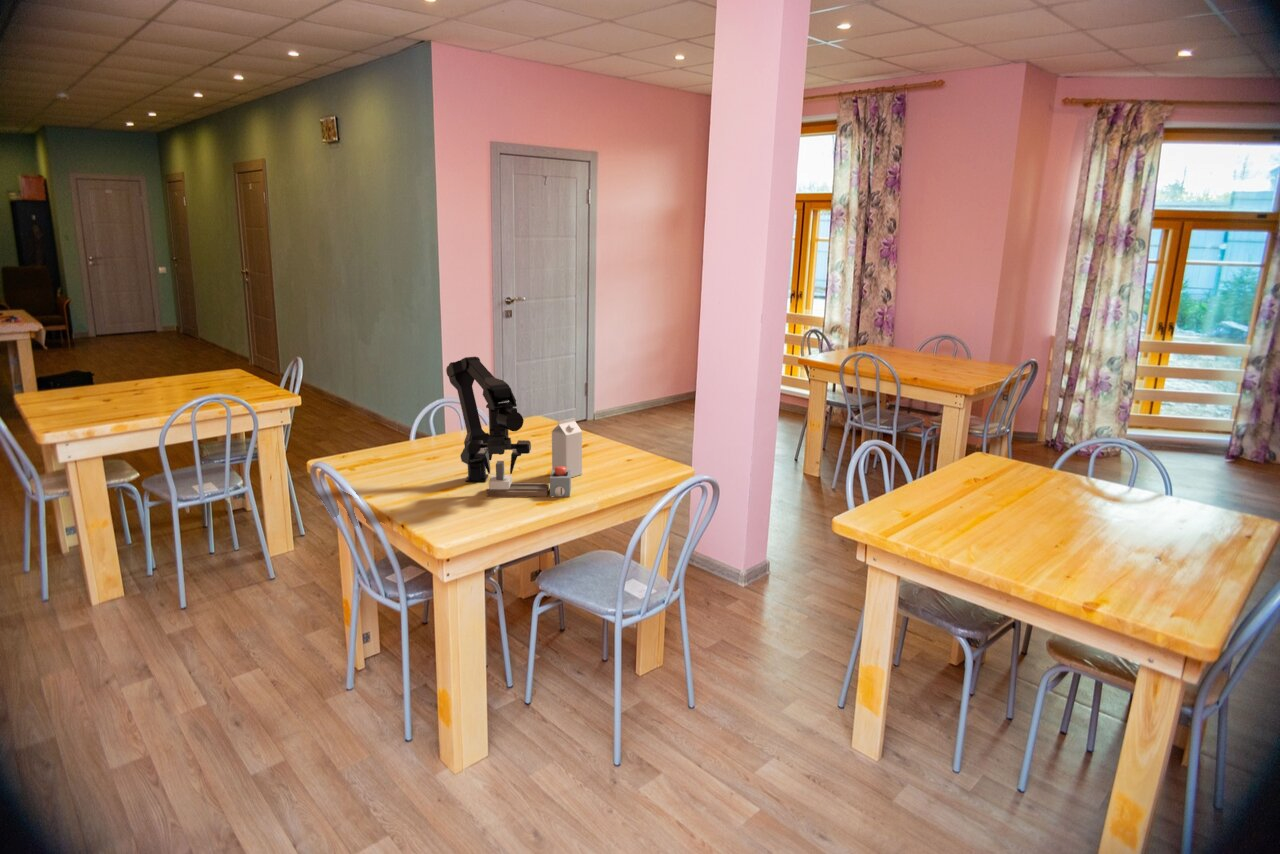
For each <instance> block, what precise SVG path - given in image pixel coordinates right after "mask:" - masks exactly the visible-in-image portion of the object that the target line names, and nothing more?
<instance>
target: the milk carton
mask: <svg viewBox="0 0 1280 854" xmlns="http://www.w3.org/2000/svg"><path fill="white" fill-rule="evenodd" d="M557 423H558V424H557V425H556V426H555V427H554V428H553V429H552V430H551V467H552V469H551V471H552V470H555V467H557V466H565V467H566V470H571V478H574V477H577V476H582V475H583V431H582V429H581V427H580V426H579V425H578V423H577V422H576V417H572V418H568V419H567V418H566V419H562V420H558V422H557Z"/></svg>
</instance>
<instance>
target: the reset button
mask: <svg viewBox="0 0 1280 854" xmlns="http://www.w3.org/2000/svg"><path fill="white" fill-rule="evenodd" d="M555 475H557V476H564V475H566V467H565V466H557V467H555Z"/></svg>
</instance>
